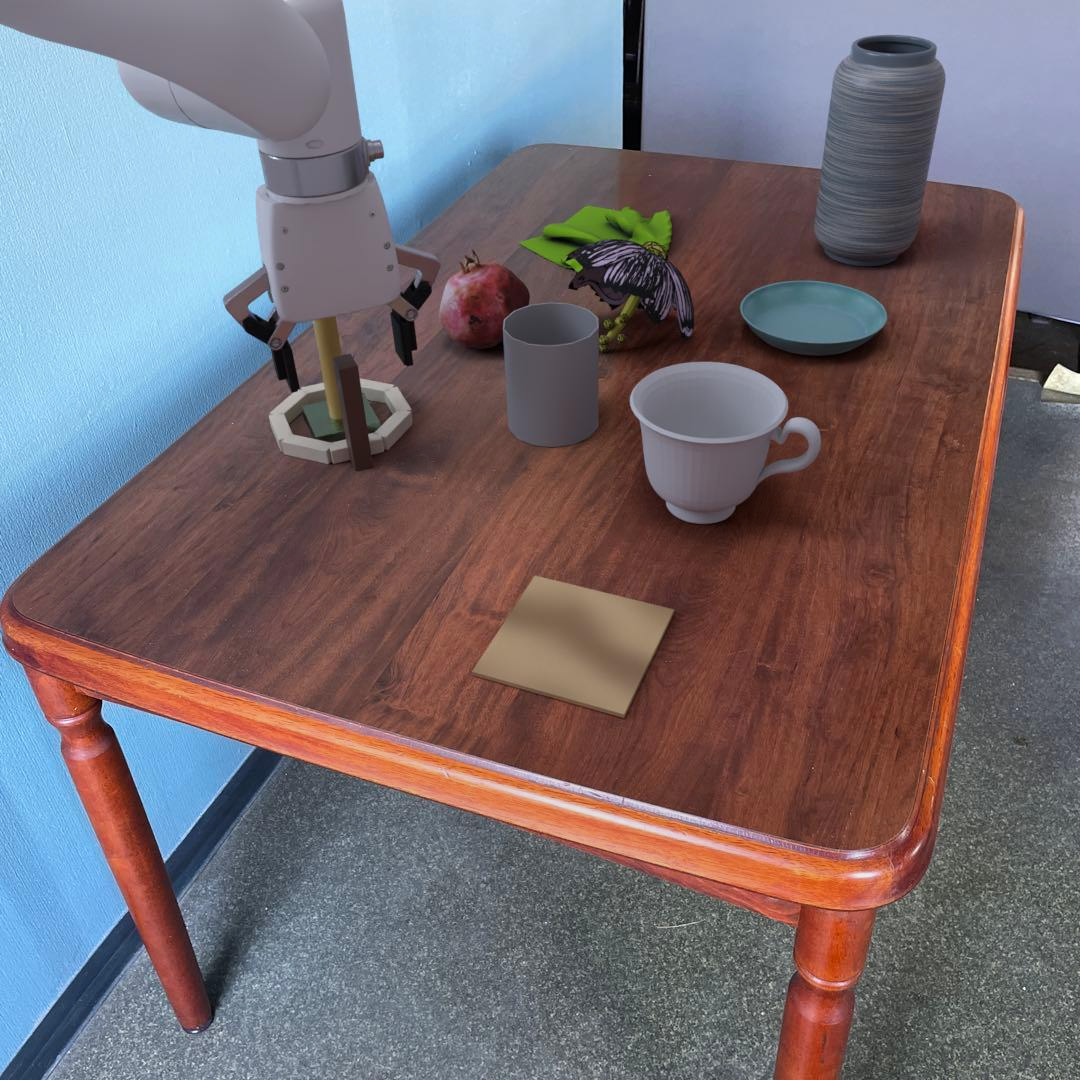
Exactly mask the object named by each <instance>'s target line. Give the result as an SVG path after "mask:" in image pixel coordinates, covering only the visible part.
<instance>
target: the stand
mask: <svg viewBox="0 0 1080 1080" xmlns="http://www.w3.org/2000/svg"><path fill="white" fill-rule="evenodd" d="M312 325H313V329H314V335H315V341H316V347H317V352H318V358H319V363H320V370H321V375H322V381H323V382H322V383H324V387H325V393H326V399H327V401H323V402H319V403H314V404H310V405H305V406H302V411H303V412H302V416H303V418H304V421H305V423H306V425H307V427H308V430H309V432H310V434H311V436H312V439H316V440H321V441H326V442H330V443H333V442H337V441H341V440H345V439H346V437H345V431H344V425H343V419H342V413H341V407H340V401H339V395H338V389H337V383H336V377H335V371H334V365H333V359H332V357H336V356H341V355H343V354H342V353H343V352H342V348H341V343H340V342H341V341H340V334H339V328H338V322H337V316H334V317H330V318H325V319H320V320H315V321H312ZM362 397H363V403H364V410H365V416H366V423H367V430H368V434H371V433H375V432H376V431H377V430H378V429H379V428H380V427H381V426H382V425H381V421H380V419H379V418H378V416H377V414H376V412H375V410H374V409H373V407H372V405H371V404H370V401H369V400H367V398H366V396H365V394H364V393H362Z"/></svg>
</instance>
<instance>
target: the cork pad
mask: <svg viewBox="0 0 1080 1080" xmlns="http://www.w3.org/2000/svg"><path fill="white" fill-rule="evenodd" d="M675 611H676V610H675V609H674V608H670V607H666V606H662V605H658V604H654V603H649V602H646V601H641V600H637V599H634V598H629V597H626V596H621V595H616V594H612V593H610V592H609V593H608V592H604V591H600V590H597V589H593V588H589V587H584V586H580V585H577V584H572V583H568V582H564V581H559V580H556V579H551V578H547V577H543V576H539V575H533V578H532V579H531V581H529V584H528V585H527V587H526V588H525V589H524V591H523V593H522V594H521V596H519V599H518V601H517V602H516V603H515V605H514V607H513V608H512V609H511V611H510V612H509V614H508V616H507V617H506V619H505V621H504V622H503V624H502V625H501V626H500V628H499V630H498V631H497V632H496V634H495V635H494V637H493V639H492V640H491V642H490V643H489V645H488V646H487V648H486V649H485V650H484V652H483V654H482V655H481V657H480V658H479V660H478V661H477V662H476V665H475V666H474V667H473V669H472V671H471V675H472V676H474V677H476V678H481V679H484V680H488V681H490V682H493V683H494V682H495V683H498V684H501V685H505V686H509V687H512V688H515V689H519V690H522V691H527V692H530V693H532V694H536V695H541V696H544V697H548V698H551V699H555V700H559V701H562V702H564V703H568V704H572V705H577V706H580V707H583V708H586V709H590V710H593V711H597V712H601V713H604V714H608V715H611V716H615V717H619V718H621V719H625V718H626V716H627V713H628V712H629V709H630V707H631V706H632V703H633V701H634V699H635V697H636V694H637V693H638V690H639V689H640V686H641V685H642V683H643V680H644V677H645V676H646V674H647V672H648V670H649V668H650V665H651V664H652V661H653V659H654V657H655V655H656V653H657V651H658V649H659V647H660V645H661V642H662V641H663V639H664V637H665V634H666V632H667V630H668V627H669V625H670V623H671V622H672V619H673V617H674V615H675Z"/></svg>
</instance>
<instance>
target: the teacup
mask: <svg viewBox="0 0 1080 1080" xmlns="http://www.w3.org/2000/svg"><path fill="white" fill-rule="evenodd" d="M629 406H630V408H631V411H632V412H633V414H634V416H635V417H636V418H637V419H638V420H639V424H640V430H641V431H640V432H641V440H642V450H643V451H642V452H643V460H644V466H645V472H646V475H647V479H648V482H649V483H650V485H651V487H652V489H653V490H654V492H656V494H657V495H658V496H659V497H660V498H661V499H662V500H664V501H665V505H666V506H665V507H666V508H667V510H668V511H669V512H670V513H671V515H673V516H674V517H676V518H678V519H680V520H682V521H684V522H686V523H690V524H697V525H698V524H699V525H709V524H714V523H715V524H716V523H719V522H722V521H725V520H727V519H728V518H729V517H731V516H732V515H733V514H734V512H735V510H736V507H737V506H739V505H740V504H742V503H743V502H744V501H745V500H748V498H749V497H750V496H751V495H752V494H753V492H754V491H755V490H756V488H757V486H758V485H759V484H760V483H761V482H763V481H764V480H765V479H767V478H768V477H770V476H774V475H779V474H792V473H796V472H799V471H803V470H804V469H806V468H808V467H809V466H810V465H812V464H813V463H814V461H815V460H816V459H817V457H818V455H819V453H820V451H821V444H822V436H821V433H820V429H819V428H818V426H817V425H816V424H815V422H813V421H812V420H810V419H808V418H806V417H800V416H798V417H797V416H796V417H792V418H790V419H788V420H787V421H786V423H785V424H784V426H783V428H782V427H781V426H780V424H782V422H783V421H784V419H786V416H787V414H788V411H789V400H788V398H787V396H786V394H785V392H784V390H782V388H780V387H779V385H778V384H777V383H775V382H774V381H773V380H772V379H770V378H769V377H767V375H764V374H762V373H760V372H757V371H756V370H753V369H751V368H748V367H744V366H741V365H737V364H732V363H726V362H719V361H717V362H716V361H691V362H683V363H675V364H672V365H668V366H665V367H662V368H659V369H656V370H654V371H652V372H651V373H648V374H647V375H646V376H645V377H643V378H642V379H640V381H639V382H637V384H635V386H634V387H633V389H632V391H631V393H630V395H629ZM792 433H796V434H799V435H802V436H803V437H804V438H805V439H806V440H807V443H808V448H807V450H806V451H805V452H804V453H803V454H801V455H799V456H798V457H794V458H786V459H780V460H776V461H774V462H771V463H770V464H767V466H765V465H766V461H767V458H768V453H769V450H770V447H771V446H770V445H771V443H772V442H771V441H774V442H775V443H776V444H777V445H783V444H784V443H786V441H787V439H788V437H789V435H790V434H792Z"/></svg>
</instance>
